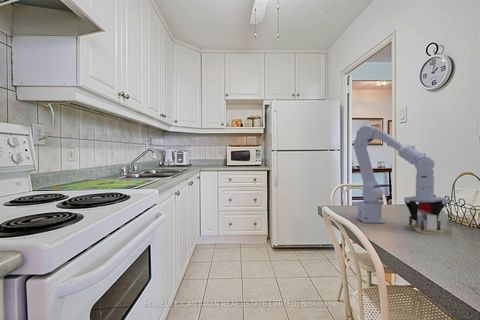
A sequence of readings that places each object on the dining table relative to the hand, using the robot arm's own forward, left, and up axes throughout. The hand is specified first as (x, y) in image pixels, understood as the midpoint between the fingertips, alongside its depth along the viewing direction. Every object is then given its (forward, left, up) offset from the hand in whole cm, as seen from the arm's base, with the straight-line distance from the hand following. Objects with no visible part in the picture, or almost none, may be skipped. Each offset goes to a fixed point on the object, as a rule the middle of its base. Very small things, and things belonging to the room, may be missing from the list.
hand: (424, 220), depth 94 cm
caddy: (0, 0, -4) cm, 4 cm away
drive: (0, 0, -3) cm, 3 cm away
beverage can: (+12, +15, -4) cm, 19 cm away
